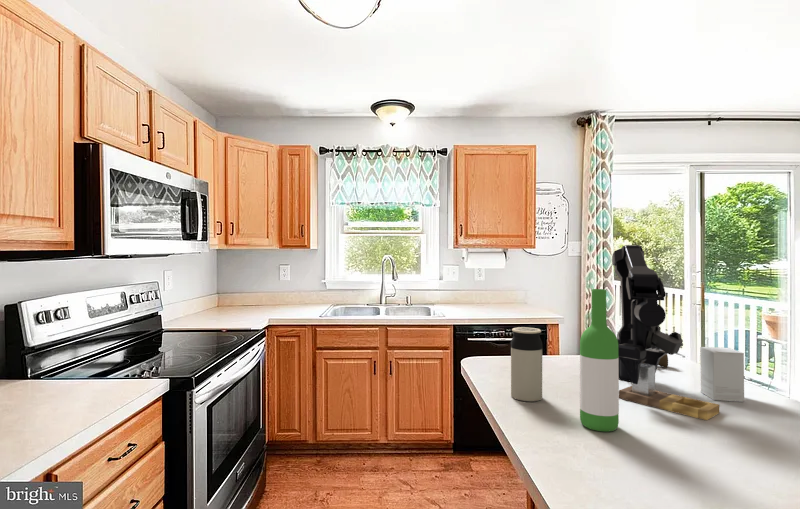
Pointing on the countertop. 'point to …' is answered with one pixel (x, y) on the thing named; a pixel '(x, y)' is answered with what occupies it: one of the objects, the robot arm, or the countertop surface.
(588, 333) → the wine bottle
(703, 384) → the supplement box
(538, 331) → the travel mug
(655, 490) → the countertop surface
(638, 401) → the wooden slotted board
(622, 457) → the countertop surface
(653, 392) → the peg
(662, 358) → the kendama
